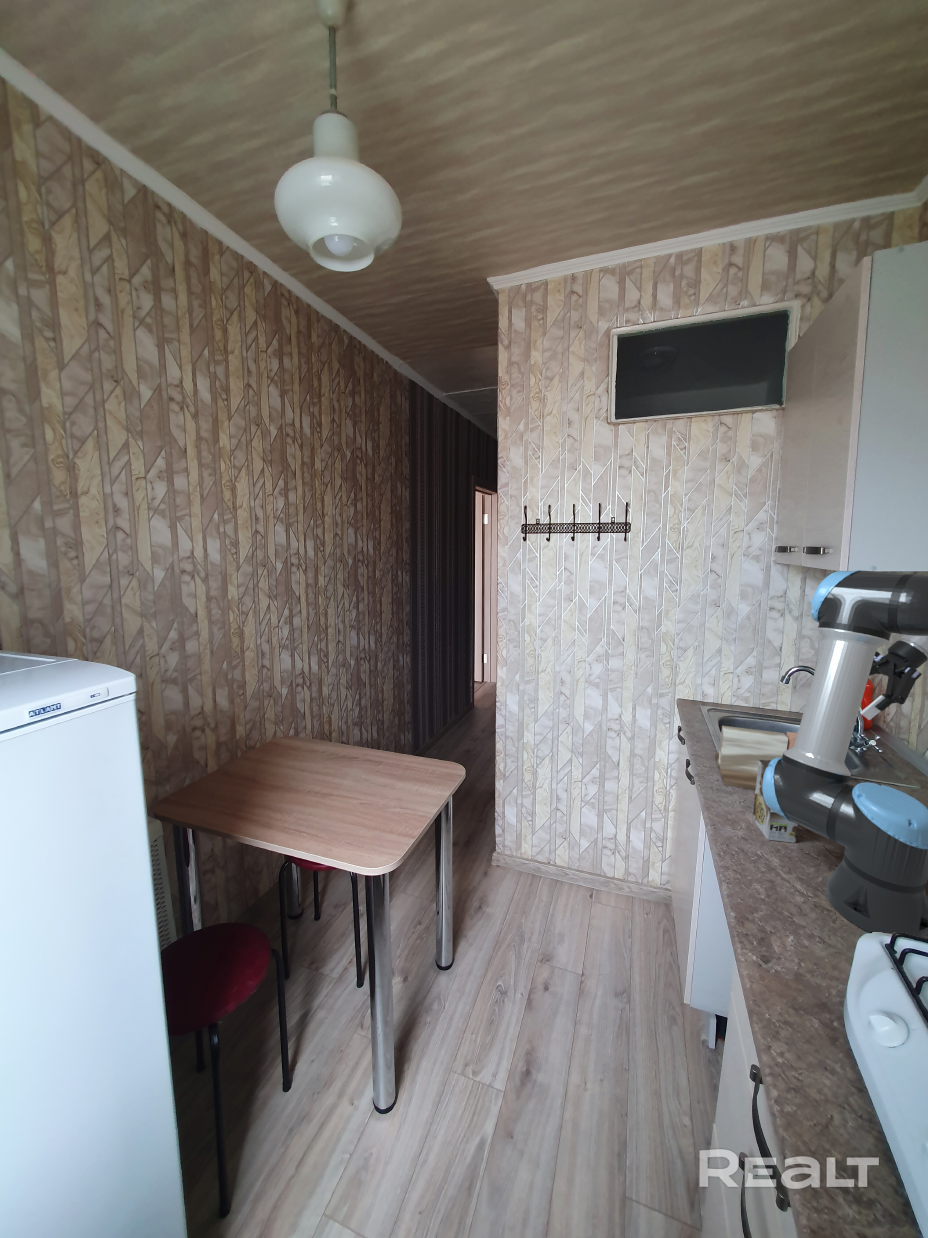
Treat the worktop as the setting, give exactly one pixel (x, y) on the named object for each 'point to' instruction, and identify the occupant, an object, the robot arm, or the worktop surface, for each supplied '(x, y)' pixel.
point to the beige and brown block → (746, 754)
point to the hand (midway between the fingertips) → (846, 705)
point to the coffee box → (771, 814)
